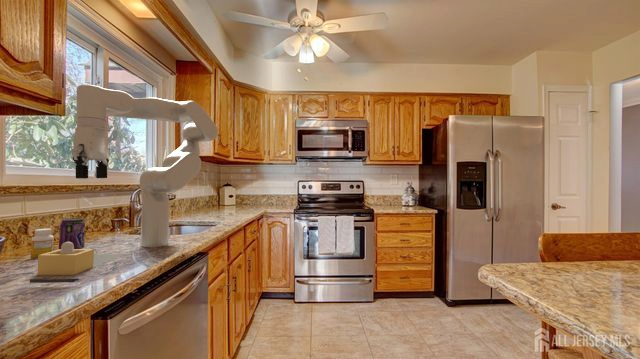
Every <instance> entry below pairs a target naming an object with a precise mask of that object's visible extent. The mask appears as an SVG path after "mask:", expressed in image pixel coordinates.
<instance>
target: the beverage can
mask: <svg viewBox="0 0 640 359" xmlns="http://www.w3.org/2000/svg"><path fill="white" fill-rule="evenodd" d="M58 231H59V232H58V250H59V249H61V246H62V244H63V243H65V242H72V243H73V244H74V249H84V247H85V242H86V241H85V239H86V238H85V236H86V234H85V233H86V222H85V220H84V218H83V217H72V218H71V217H70V218H69V217H68V218H62V219H61V221H60V224H59V230H58Z"/></svg>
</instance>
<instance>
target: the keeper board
mask: <svg viewBox="0 0 640 359" xmlns="http://www.w3.org/2000/svg"><path fill="white" fill-rule="evenodd" d="M61 254H74V244H73V243H72V242H65V243H63V244H62V246H61ZM124 255H125V256H126V253H98V254H97V253H94V262H93V267H92V268H90V269H87V270H85V271H82V272H80V273H77V274H73V275H37V273H36V274H34V275H31V276H30V279H29V283H30V284H31V283H34V284H37V283H38V284H39V283H41V284H44V283H74V282H76V281H79V280H80V278H64V277H75V276H78V275H80V274H83V273H84V272H87V271H90V270H91V269H93V268H96V267H99V266H101V265H104V264H106V263H108V262H111V261H113V260H115V259H119V258H121V257H123V256H124ZM43 277H44V278H43ZM47 277H51V278H50V279H49V278H48V279H47ZM54 277H55V278H54ZM56 277H57V278H56ZM58 277H60V278H59V279H58ZM61 277H63V278H61ZM31 278H35V279H31ZM36 278H37V279H36ZM38 278H39V279H38ZM42 278H43V279H42Z"/></svg>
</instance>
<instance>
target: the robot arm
mask: <svg viewBox="0 0 640 359" xmlns="http://www.w3.org/2000/svg"><path fill="white" fill-rule="evenodd" d="M107 117H115V118H124V119H137V120H147V121H151V120H152V121H162V122H168V123H169V122H172V123H181V124H182V123H188V124H186V125H185V126H184V128H183V129H182V144H181V145H180V146H179V147H178V148H177V149H175V150H173V152H171V153H170V154H169V155H167V156H166V157H165V158H164V160H163V161H162V164H161V166H162V167H156V166H155V167H149V168H146V169H145V170H143V172H142V173H141V174H140V176H139V187H140V192H141V216H140V243H139V244H138V245H137V246H138V247H139V246H140V247H142V248H155V247H156V248H157V247H164V246H166V247H167V246H168V247H169V246H171V247H172V246H173V243H172V242H169V239H170V238H171V235H170V234H169V231H170V230H169V229H170V225H169V224H170V198H169V194H168V193H176V192H178V191H180V190H182V189H183V188H185V187H186V185H187V184H189V183H190V181H192V180H193V179H194V178H195V177H196V176H197V175H198V174H199V172H200V171H201V169H202V160H201V158H200V154H201V151H200V144H199V142H212V141H214V140H216V139H217V137H218V136H219V130H218V129H219V128H218V127H217V124H216V123H215V121H213V119H212V118H211V116H209V114H208V113H207V112H206V110H205V109H204V108H203V107H202V106H201V105H200V104H198V102H196V101H194V100H186V101H175V100H170V99H169V100H168V99H162V98H158V97H138V98H135V97H133V96H132V95H131V94H129V93H128V92H125V91H123V90H114V89H109V88H103V87H101V86H98V85H93V84H80V85H78V86H77V87H76V127H75V130H74V134H73V135H74V136H73V143H72V144H73V147H72V148H73V149H71V150H70V153H71V156H72V161H73V162H74V163H73V164H74V166H75V178H76V179H82V180H83V179H89V165H88V163H89V161H95V163H96V165H97V166H96V167H95V178H96V179H108V166H109V162H110V156H111V154H110V153H109V152H108V141H107V140H108V139H107V133H106V131H107Z"/></svg>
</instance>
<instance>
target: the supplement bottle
mask: <svg viewBox="0 0 640 359" xmlns="http://www.w3.org/2000/svg"><path fill="white" fill-rule="evenodd" d="M30 241H31V243H30V259H34V258H35V259H36V258H38V255H41V254H45V253H48V252H52V251H55V250H54V246H55V237H54V235H52V228H38V229H34V236H32V237H31V240H30Z"/></svg>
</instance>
